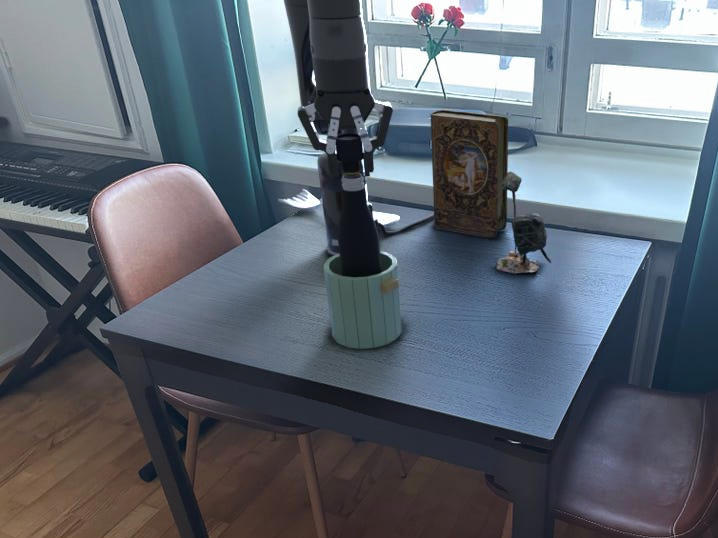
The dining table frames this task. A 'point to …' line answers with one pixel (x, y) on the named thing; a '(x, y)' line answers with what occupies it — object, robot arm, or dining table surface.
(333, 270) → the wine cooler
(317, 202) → the serving fork
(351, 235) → the wine bottle
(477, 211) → the book
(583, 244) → the dining table surface
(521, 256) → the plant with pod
